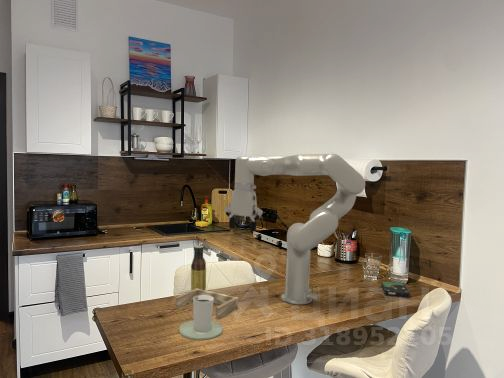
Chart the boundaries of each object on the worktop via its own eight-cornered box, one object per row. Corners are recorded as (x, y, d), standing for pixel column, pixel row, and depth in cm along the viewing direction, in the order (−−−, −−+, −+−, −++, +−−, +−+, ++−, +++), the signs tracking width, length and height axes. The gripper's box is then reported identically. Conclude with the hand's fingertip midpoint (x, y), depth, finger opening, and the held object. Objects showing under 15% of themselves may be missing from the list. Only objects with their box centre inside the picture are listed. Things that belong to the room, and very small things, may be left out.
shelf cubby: (237, 307, 153) (238, 297, 153) (218, 319, 142) (219, 308, 141) (196, 298, 162) (196, 288, 162) (175, 307, 151) (175, 297, 150)
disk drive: (410, 299, 173) (403, 288, 187) (410, 293, 173) (404, 282, 187) (384, 297, 175) (380, 286, 189) (385, 290, 175) (381, 280, 189)
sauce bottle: (198, 289, 173) (200, 243, 172) (208, 292, 169) (210, 246, 168) (187, 292, 168) (188, 245, 167) (197, 296, 164) (198, 248, 163)
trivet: (230, 327, 135) (230, 325, 134) (206, 343, 122) (206, 341, 122) (196, 318, 141) (196, 316, 141) (170, 332, 129) (170, 330, 129)
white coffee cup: (207, 333, 127) (208, 303, 127) (188, 330, 129) (189, 300, 129) (216, 326, 134) (217, 296, 133) (197, 322, 136) (198, 293, 135)
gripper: (267, 188, 160) (265, 231, 161) (230, 185, 168) (229, 226, 169) (258, 189, 154) (257, 233, 155) (220, 186, 162) (219, 228, 163)
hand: (242, 229), depth 162 cm, fingers open, 9 cm apart
